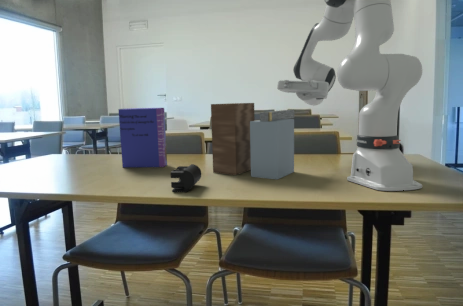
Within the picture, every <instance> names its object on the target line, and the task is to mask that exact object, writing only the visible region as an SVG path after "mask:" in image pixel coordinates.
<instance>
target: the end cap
mask: <svg viewBox="0 0 463 306" xmlns="http://www.w3.org/2000/svg"><path fill="white" fill-rule="evenodd" d="M170 178H171V179H178V181H171V182H170V184H171V185H170V186H171V188H172V189H171V192H172V193H187V192H188V191H190V190H191V189H193V187H194V186H196V184H197V183H198V182H199V181H200V180H201V178H202V170H201V168H200V167H199V166H198V165H196V164H189V166H186V165H184V166H183V165H182V166H181V165H179V166H177V167H176V169H173V170H171V171H170Z"/></svg>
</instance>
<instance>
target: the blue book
mask: <svg viewBox="0 0 463 306" xmlns="http://www.w3.org/2000/svg"><path fill="white" fill-rule="evenodd" d="M165 116H166V115H165V107H138V108H137V107H135V108H132V107H131V108H119V109H118V122H119V123H118V124H119V136H120V137H119V138H120V150H121V151H120V152H121V162H122V163H121V164H122V168H126V169H128V168H131V169H132V168H133V169H134V168H142V169H143V168H144V169H145V168H146V169H147V168H165V167H167V166H168V154H167V138H166V137H167V135H166V119H165V118H166V117H165Z"/></svg>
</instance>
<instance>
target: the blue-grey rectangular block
mask: <svg viewBox="0 0 463 306" xmlns="http://www.w3.org/2000/svg"><path fill="white" fill-rule="evenodd" d="M250 151H251V170H250V177H251V178H261V179H269V180H279V179H281V178H283V177H286V176H288V175H290V174H293V173H294V172H295V119H294V118H290V119H283V120H276V121H269V122H260V119H259V120H258V119H257V120H255V121H250Z"/></svg>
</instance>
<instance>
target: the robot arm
mask: <svg viewBox="0 0 463 306" xmlns="http://www.w3.org/2000/svg"><path fill="white" fill-rule="evenodd" d="M324 2H325V4H326V6H325V9H324V13H323V16H322V18H321V20H320V22H317V23H315V24H314V25H313V26H312V28H311V29H310V31H309V33H308V35H307V38H306V40H305V41H304V45H303V47H302V50H301V51H300V54H299V56H298V58H297V60H296V62H295V64H294V66H293V73H294V77H295V78H296V79H297V80H289V79H284V80H282V79H281V80H280V79H279V80H278V81H277V90H279V91H280V92H283V93H288V94H289V93H291V94H295V95H296V96H297V97H298V99H300V100H301V101H303V102H304V103H305V104H307V105H309V106H313V107H314V106H318V105H320V104H322V103H323V102H324V100H327V98H328V95H329V92H330V91H331V90H332V88H333V87H334V84H335V82H336V77H337V81H338V83H339V84H340V86H341V87H342V88H343V89H346V90H350V91H356V92H357V91H358V92H364V91H368V92H370V91H371V92H373V91H376V92H375V96H374V98H373V99H372V101H371V102H368V103H367V104H365V105H364V106H363V107H362V108H361V109H360V111H359V113H358V134H357V135H356V146H357V149H356V150H355V152H353V154H352V159H351V160H352V161H351V170H350V175H348V176H347V177H346V180H347V181H349V182H352V183H355V184H357V185H361V186H363V187H367V188H370V189H373V190H377V191H384V192H387V191H388V192H396V191H397V192H398V191H399V192H401V191H403V190H404V191H414V190H415V191H416V190H419V189H422V188H423V184H422V183H421V182H418V181H416V180H414V168H413V163H412V162H410V161H409V160H408V159H407V158H406V156H405V155H404V153H403V152H402V151H401V150H400V144H401V141H402V140H401V139H399V136H398V135H397V128H398V127H397V126H398V117H399V109H400V107H401V104H402V102H403V100H404V98H405V97H406V95H407V93H408V92H410V90H412V88H414V87H416V86H417V84H418V83H419V82H420V80H421V78H422V75H423V65H422V62H421V60H420V59H419V58H418V57H417V56H414V55H410V54H404V53H381V51H380V47H381V46H382V45H383V44H385V43H387V42H388V41H389V40H390V39H391V38H392V37H393V34H394V31H395V25H394V16H393V9H392V2H391V0H324ZM353 21H354V31H355V32H354V34H355V35H354V38H355V39H354V44H353V47H352V49H351V51H350V52H349V53H348V54H347V55H346V56H345V57H344V58H343V59H342V60H341V61H340V63H339V64H338V67H337V70H336V71H337V72H336V71H335V68H334V67H331V66H329V65H327V64H325V63H321V62H319V61H317V60H315V59H313V58H312V56H313V54H314V51H315V49H316V46H317V44H318V42H325V41H329V42H330V41H331V42H332V41H336V40H340V39H343V37H345V36H346V35H347V34H348V33H349V31H350V29H351V27H352V24H353Z"/></svg>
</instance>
